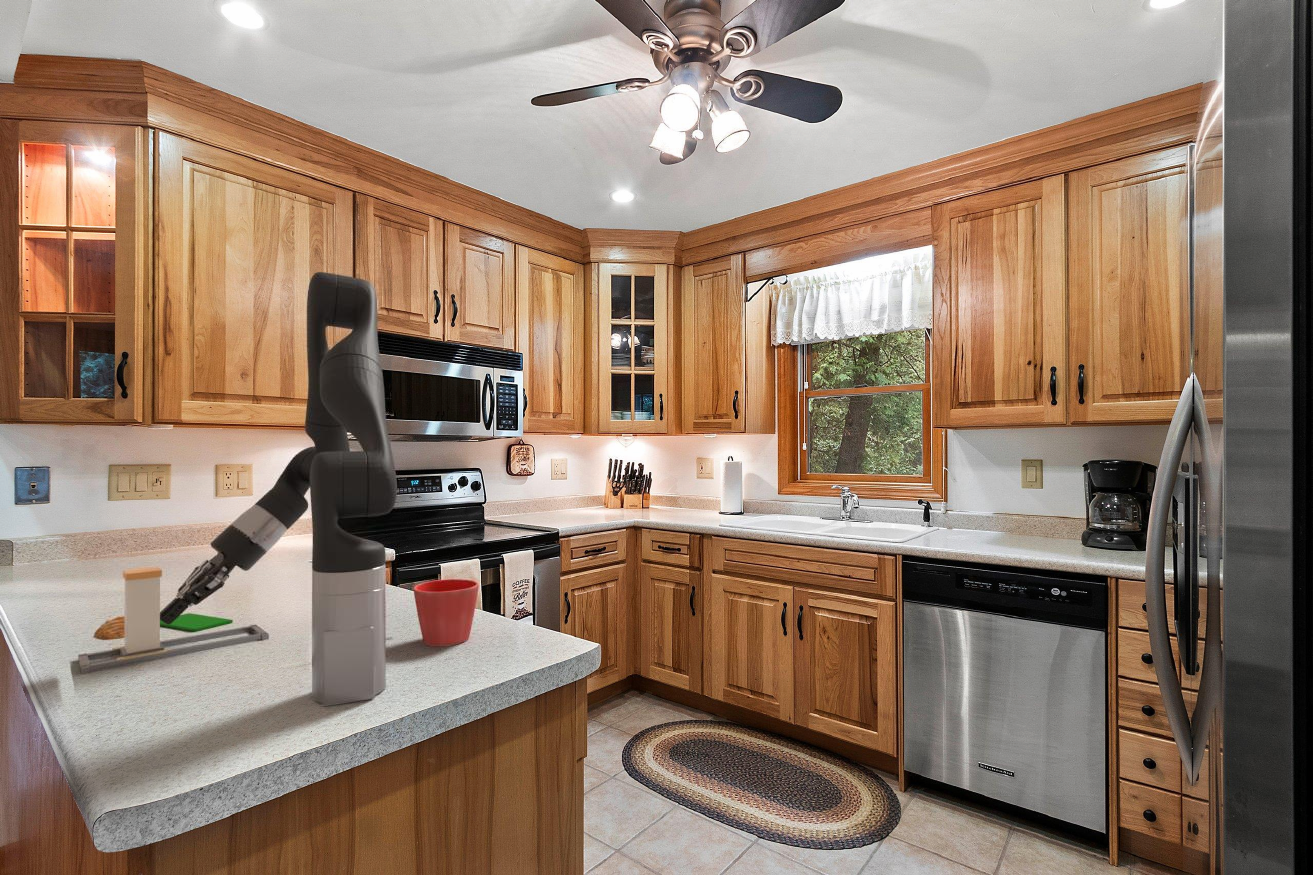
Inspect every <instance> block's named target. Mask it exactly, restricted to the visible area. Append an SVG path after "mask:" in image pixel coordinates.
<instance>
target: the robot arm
mask: <svg viewBox="0 0 1313 875" xmlns="http://www.w3.org/2000/svg"><path fill="white" fill-rule="evenodd" d="M377 296H378V295H377V292H376V289H375V286H374V285H373V283H371V282H370V281H368V280H365V279H362V278H358V277H353V276H348V275H343V274H342V275H341V274H336V273H331V272H325V271H318V272H315V273H314V274H313V275H312V276H311V278H310V281H309V285H308V289H307V296H306V297H307V298H306V358H307V377H308V378H307V381H308V382H307V386H308V387H307V400H306V401H307V402H306V410H305V411H306V412H305V420H304V431H305V433H306V435H307V436H308V437H309V438H310V439H311V440H312V442H313V444H314V446H309V447H306V448H304V449H302V450H300V451H299V452H298V453H297V454H295V455H294V456H293V457H292V458H291V460H290V461H288V463H287V465H286V467H285V468H284V470H283V471H282V473H281V474H280V475H279V477H278V478H277V480H276V482H275V483H274V486H272V488H271V489H270V490H268V491H267V492H266V493H265V494H264V495H262V497H260V499H258V501H256V502H255V503H254V504H253V505H252V506H251V507H249V509H246V510H245V511H243V513H242V514H240V515H239V516H238V517H237V518H236V519H235V520H234V521H233V522H231V523H230V524H229V525H228V526H227V527H226V528H225V529H224V530H223V531H222V532H220V533H219V534H218V536H216V537H215V539H213V540H212V541H211V542H210V547H211V548H212V549H213V550H214V551H216V552H217V554H216V555H214V556H213V557H212V558H211V559H209V560H208V559H205V560H204V561H203V562H201V564H199V565H198V566H196V567H195V568H194V570H193V571H192V572H191V573H190V575H189V576H188V577H187V578H186V580H185V581H184V582H183V583H182V585H181V586H180V587H179V588H178V590H177V593H176V595H175V598H173V599H172V600H171V601H170V602H169V603H168V604H167V605H166V606H165V607H164V608H163V609H161V610H160V620H161V621H163V622H164V623H166V624H171V623H172V622H173V621H174V620H175V619H177V618H178V617H179V616H180V615H183V614H184V612H185V611H186V610H187V609H188V608H189V607H192V606H194V605H195V606H197V605H199V604H200V603H201V602H203V601H204V600H206V599H207V598H209V597H210V596H211V595H212V594H214V593H215V592H217V591H218V590H219V589H221V588H223V587H224V585H225V582H226V581H227V580H228V579H229V578H230V573H232V571H233V570H234V569H235V568H236V567H238V569H240V570H242V571H246V572H247V571H249V570H251V569H252V567H253V566H255V565H256V564H257V563H258V562H259V561H260V560H261V559H262V558H263V557H264V556H265V555H266V554H267V553H268V552H269V551H270V550H271V549H272V548H273V546H275V545H276V544H277V543H278V542H279V540H280V539H281V538H282V537H283V536H284V535H285V533H286V532H288V530H289V529H290V528H291V527H292V526H294V524H295V523H296V522H297V521H298V520H299V519H300V518H301V517H302V516H303V515H304V514H306V513H305V512H307V511H308V509H309V502H308V500H307V499H306V497H305V495H306V494H307V492H308V491H309V495H310V510H311V522H312V523H311V524H312V526H311V527H312V529H311V530H312V554H311V556H312V557H311V698H312V700H314V701H315V702H317V703H321V704H322V706H323V707H326V706H327V707H328V706H333V705H340V704H345V703H346V704H347V703H352V702H360V701H365V700H372V699H375V696H376V695H378V694H380V693H381V692H382V691H384V690H385V689H386V687H387V686H386V684H387V683H386V680H387V678H386V677H387V672H386V671H387V668H386V667H387V666H386V665H387V664H386V663H387V660H386V659H387V657H386V654H387V652H386V651H387V650H386V648H387V647H386V645H387V644H386V643H387V642H386V640H387V639H386V633H387V632H386V628H387V627H386V626H387V625H386V621H387V620H386V618H387V617H386V614H387V613H386V611H387V610H386V609H387V608H386V605H387V604H386V584H387V583H386V581H387V580H386V575H387V574H386V567H387V566H386V560H387V559H386V557H387V556H386V554H387V553H386V549H385V546H384V544H382V543H380V542H378V541H375V540H370V539H366V538H362V537H359V536H357V535H353V534H351V533H350V532H348V531H346V530H344V529H342V527H341V526H339V524H338V520H339V519H342V518H343V519H345V518H365V517H366V518H367V517H378V516H383V515H387V514H389V513H391V511H392V510H393V509H394V507H395V505H396V501H397V498H398V497H397V496H398V482H397V473H396V467H395V462H394V456H393V452H392V447H391V441H390V436H389V431H388V424H387V416H386V399H385V385H384V376H383V375H384V374H383V368H382V362H381V355H380V349H379V337H378V336H379V335H378V334H379V333H378V297H377ZM327 327H332V328H333V327H334V328H338V329H339V328H341V329H345V330H346V329H347V330H352V331H351V332H350V333H349V334H348V335H346V336H345V337H343V339H341V340H340V341H339V342H336V343H335V344H334V346H331V348H329V345H328V341H327V329H326V328H327ZM348 432H349V433H350V435H352V436H353V437H354V439H355V440H356V441H357V442H358V443H359V445H360V446H361V447H360V448H362V450H359V451H358V450H355V451H354V450H353V451H351V447H350V441H349V436H348ZM309 489H310V490H309Z"/></svg>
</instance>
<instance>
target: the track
mask: <svg viewBox="0 0 1313 875" xmlns="http://www.w3.org/2000/svg"><path fill="white" fill-rule="evenodd" d="M245 633H246V634H247V633H253V634H251V635H245V636H244V635H243V636H239V637H233V638H228V639H222V640H217V641H211V642H206V643H201V644H200V643H199V644H195V645H190V646H189V645H188V646H184V647H177V648H174V649H166V648H167V647H172V646H178V645H179V646H180V645H185V644H189V643H190V644H191V643H196V642H202V641H206V640H213V639H218V638H225V637H230V636H235V635H236V636H237V635H242V634H245ZM269 639H270V634H269V633H268V632H267V631H265V630H264V629H263V628H262V627H261V626H259V625H257V624H249V626H243V627H237V628H231V629H226V630H225V629H224V630H220V631H212V632H208V633H202V634H196V635H195V634H194V635H191V636H189V635H188V636H183V637H178V638H172V639H167V640H160V642H161V644H162V645H163V647H164V650H159V651H153V652H148V653H142V654H136V655H131V656H125V657H120V648H122V647H124V645H123V646H118V647H113V648H111V649H108V650H102V651H97V652H90V653H81V654H80V653H79V654H78V655H77V660H78V665H79V669H80V674H81V675H83V674H84V675H85V674H90V673H91V672H96V671H100V670H106V669H111V668H116V667H123V666H126V665H133V664H140V663H144V662H149V661H156V660H159V659H165V658H170V657H175V656H181V655H186V654H192V653H193V654H194V653H196V652H203V651H209V650H214V649H219V648H225V647H229V646H235V645H236V646H237V645H241V644H245V643H250V642H251V643H252V642H257V641H264V640H265V641H266V640H269ZM116 656H119V657H116ZM110 657H116V658H115V659H111V660H106V661H100V662H95V663H90V661H94V660H99V659H100V660H101V659H105V658H110Z"/></svg>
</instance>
